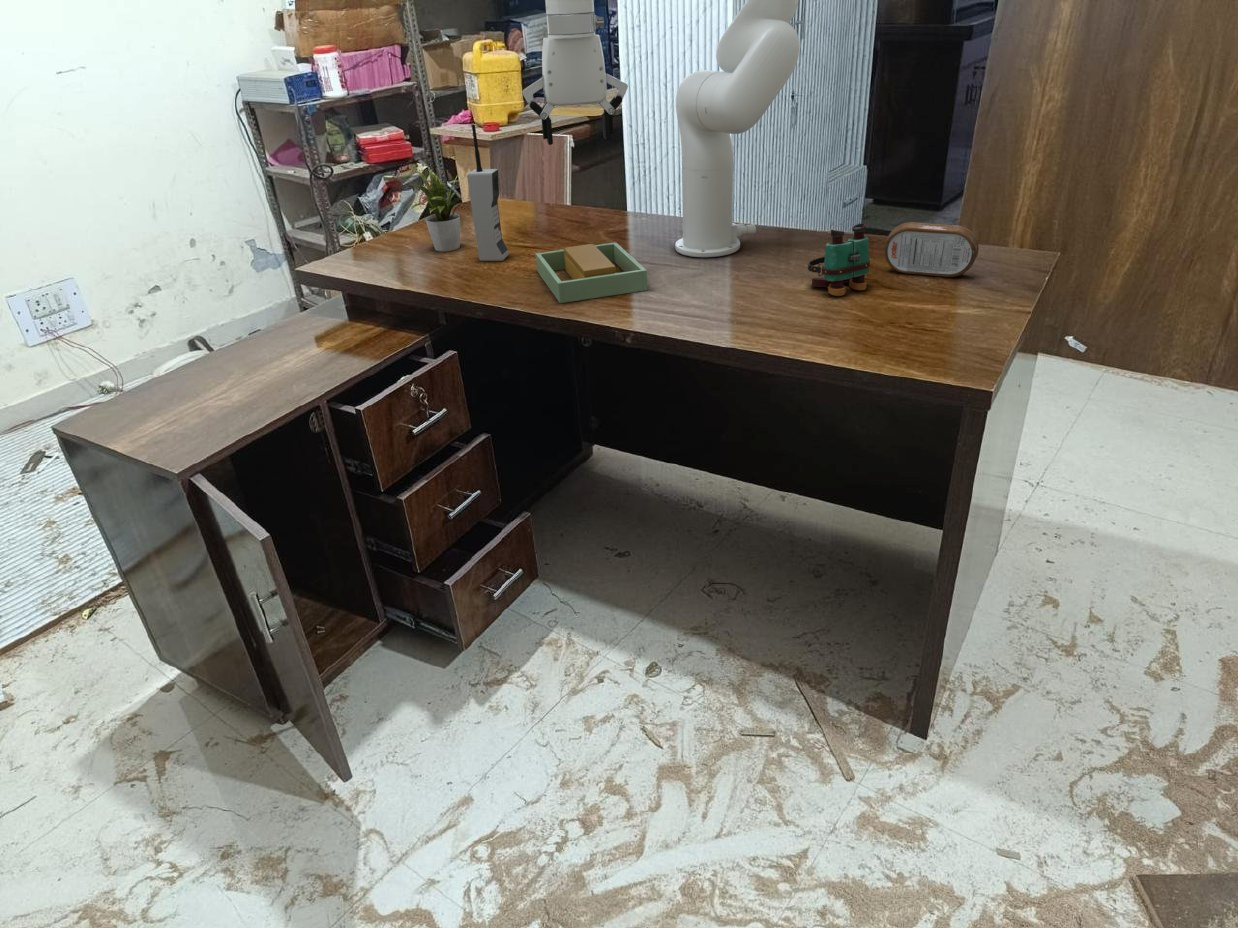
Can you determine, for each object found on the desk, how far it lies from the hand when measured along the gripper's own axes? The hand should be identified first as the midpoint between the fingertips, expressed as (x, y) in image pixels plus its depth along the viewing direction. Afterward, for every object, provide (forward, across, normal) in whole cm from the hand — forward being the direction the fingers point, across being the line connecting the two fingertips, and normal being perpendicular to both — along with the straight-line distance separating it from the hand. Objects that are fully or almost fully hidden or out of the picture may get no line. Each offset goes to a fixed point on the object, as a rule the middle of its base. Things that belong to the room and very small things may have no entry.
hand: (578, 141), depth 141 cm
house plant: (+24, +27, -29) cm, 46 cm away
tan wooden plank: (+23, 0, +2) cm, 24 cm away
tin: (+23, -57, +18) cm, 64 cm away
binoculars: (+23, -40, +19) cm, 50 cm away
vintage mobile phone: (+24, +16, -17) cm, 34 cm away
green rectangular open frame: (+23, 0, +2) cm, 24 cm away
